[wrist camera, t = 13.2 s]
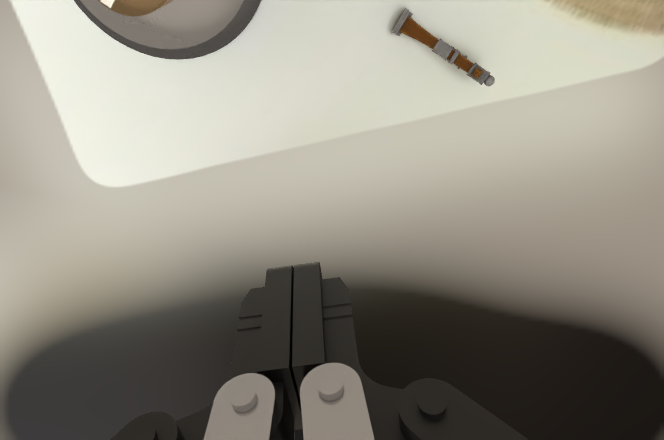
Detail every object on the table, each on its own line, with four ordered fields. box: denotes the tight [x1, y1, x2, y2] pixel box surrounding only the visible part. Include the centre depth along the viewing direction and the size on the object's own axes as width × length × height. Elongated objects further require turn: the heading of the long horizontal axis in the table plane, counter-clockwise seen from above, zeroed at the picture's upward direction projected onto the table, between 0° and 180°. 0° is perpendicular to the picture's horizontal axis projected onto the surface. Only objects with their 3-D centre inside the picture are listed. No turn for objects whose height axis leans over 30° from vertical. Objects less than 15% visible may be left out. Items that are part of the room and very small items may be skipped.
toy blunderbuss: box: [391, 9, 495, 86], centre depth 33 cm, size 2×8×4 cm, turn 60°
